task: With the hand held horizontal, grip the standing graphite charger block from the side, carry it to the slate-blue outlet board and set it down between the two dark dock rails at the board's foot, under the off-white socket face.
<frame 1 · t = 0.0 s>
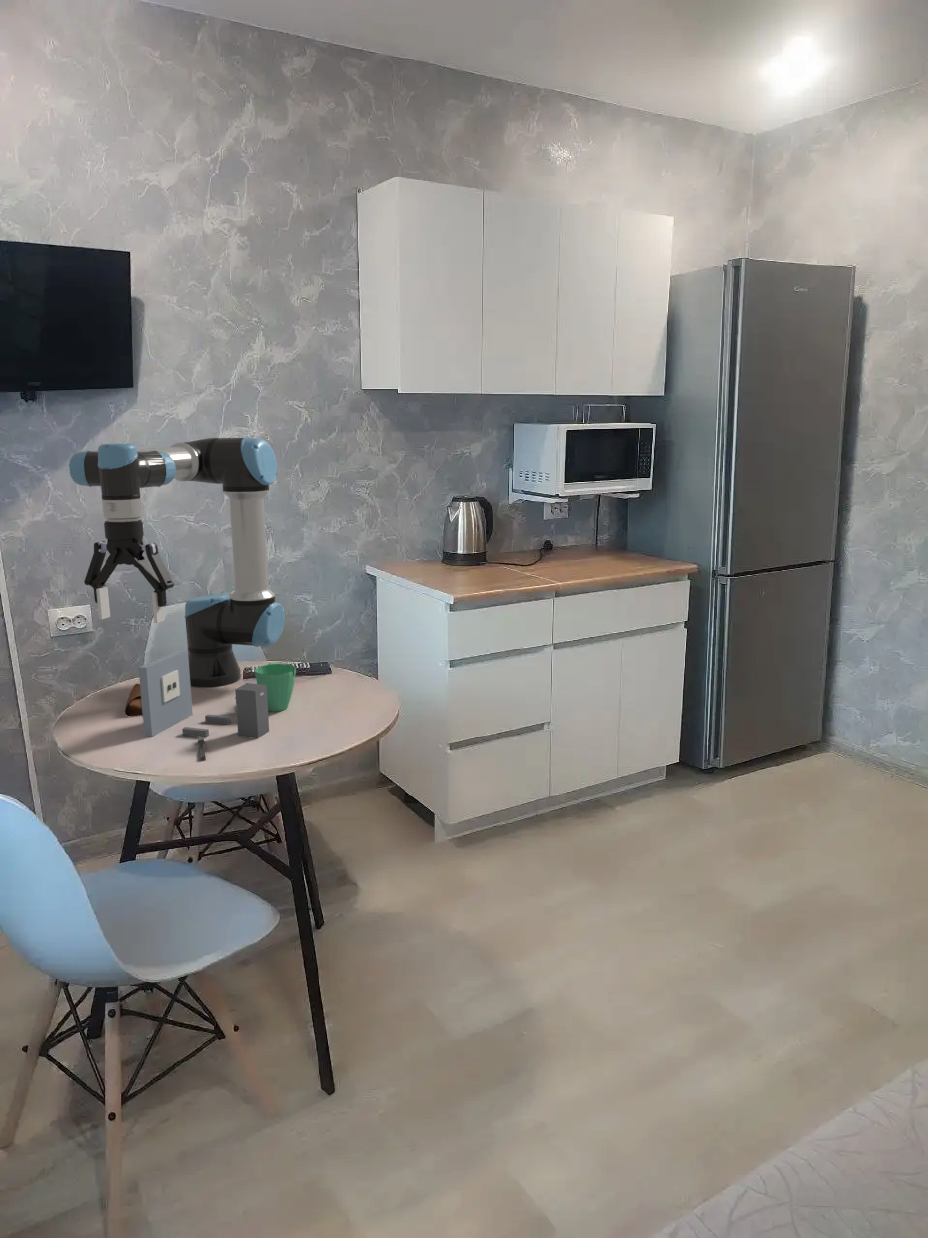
hand: (132, 620, 192), 28 cm above the table, tool pointing down, fingers open, 13 cm apart
sunglasses case: (146, 707, 226), on the table
outlet board: (207, 728, 208), on the table
charger: (253, 733, 205), on the table
dark grey rod: (202, 751, 194), on the table
mug: (276, 706, 225), on the table
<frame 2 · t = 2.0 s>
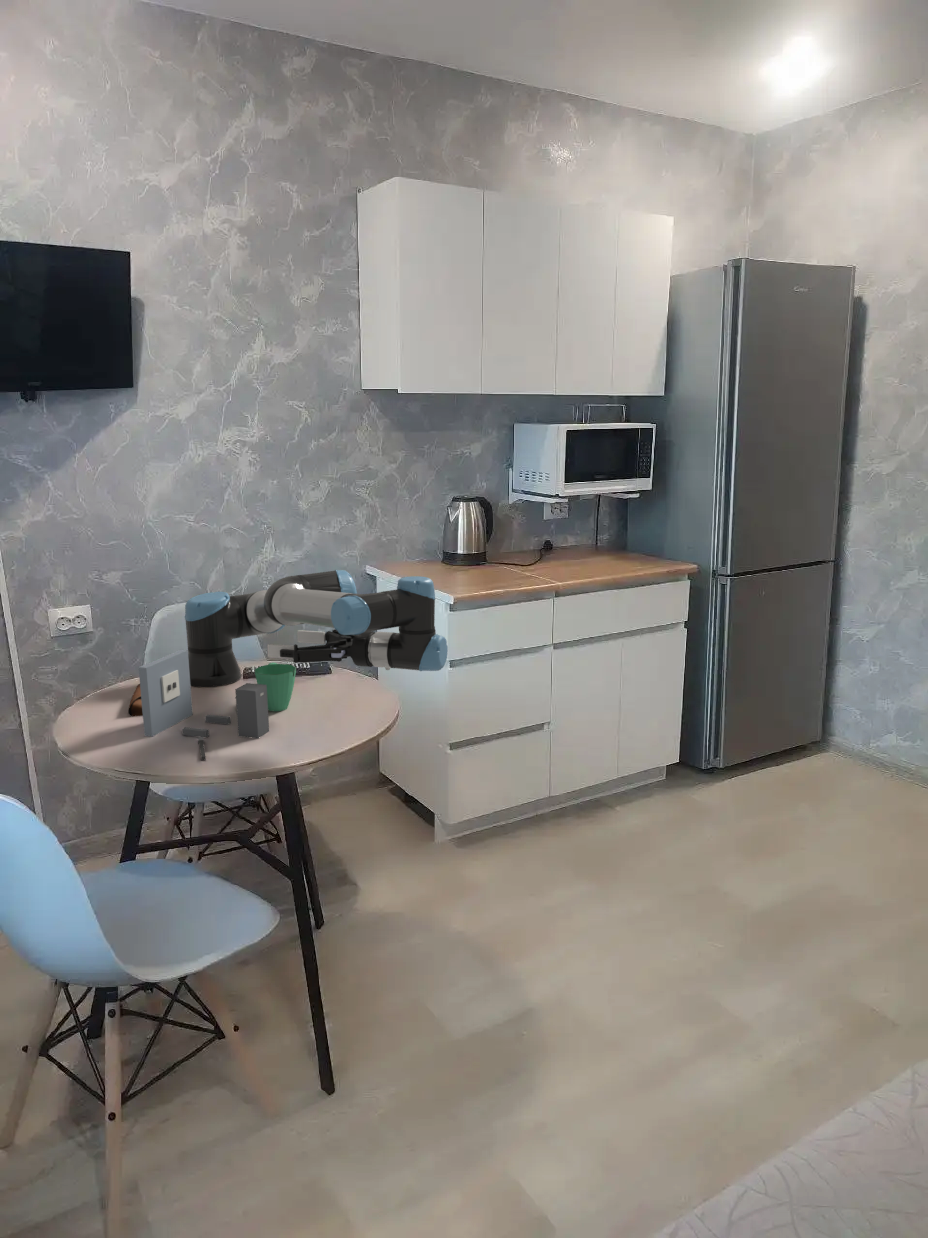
hand: (283, 643, 197), 22 cm above the table, tool horizontal, fingers open, 13 cm apart
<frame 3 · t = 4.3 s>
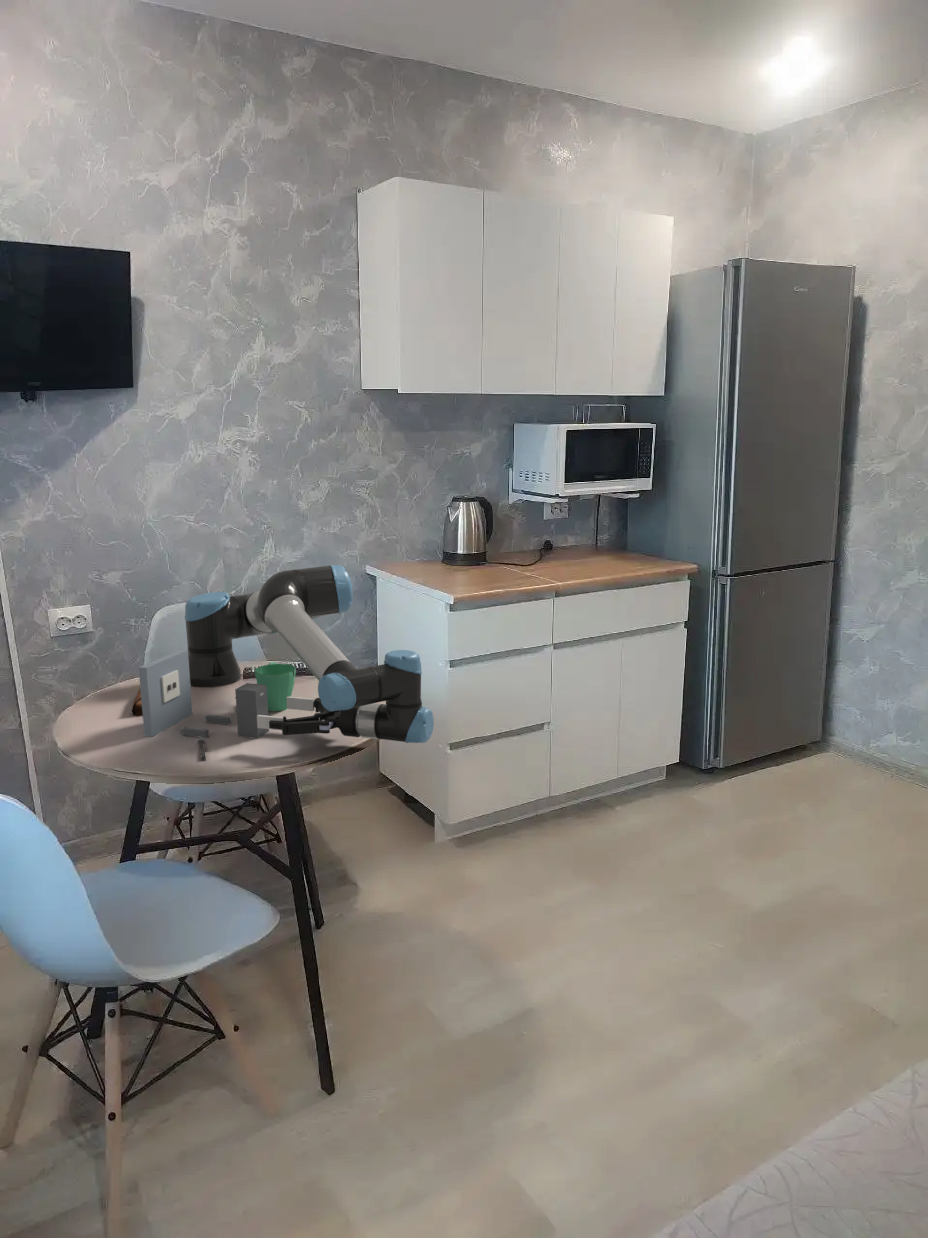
hand: (273, 711, 201), 6 cm above the table, tool horizontal, fingers open, 13 cm apart
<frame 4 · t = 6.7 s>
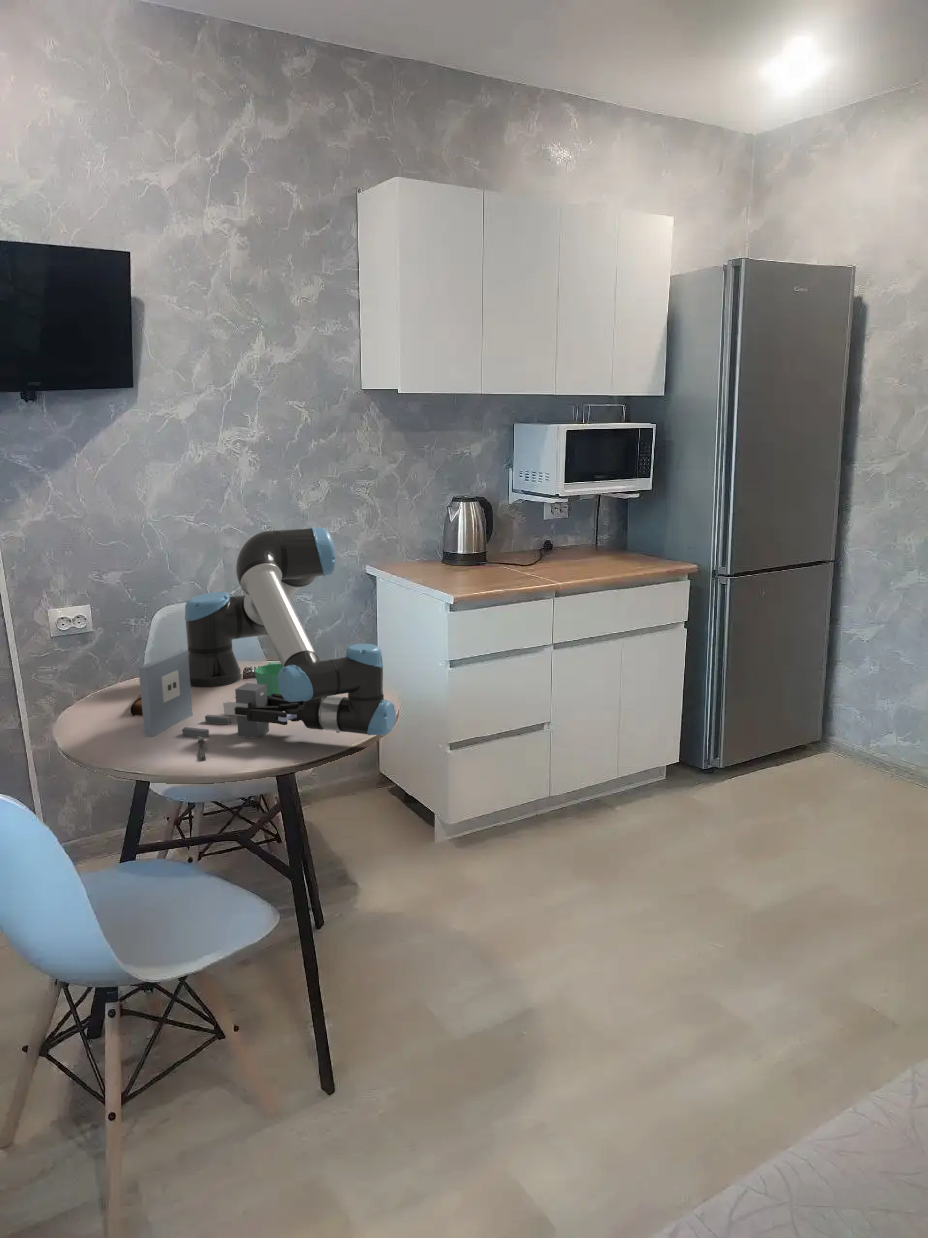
hand: (231, 704, 205), 7 cm above the table, tool horizontal, fingers closed on charger, 5 cm apart
charger: (253, 733, 205), on the table, touching gripper
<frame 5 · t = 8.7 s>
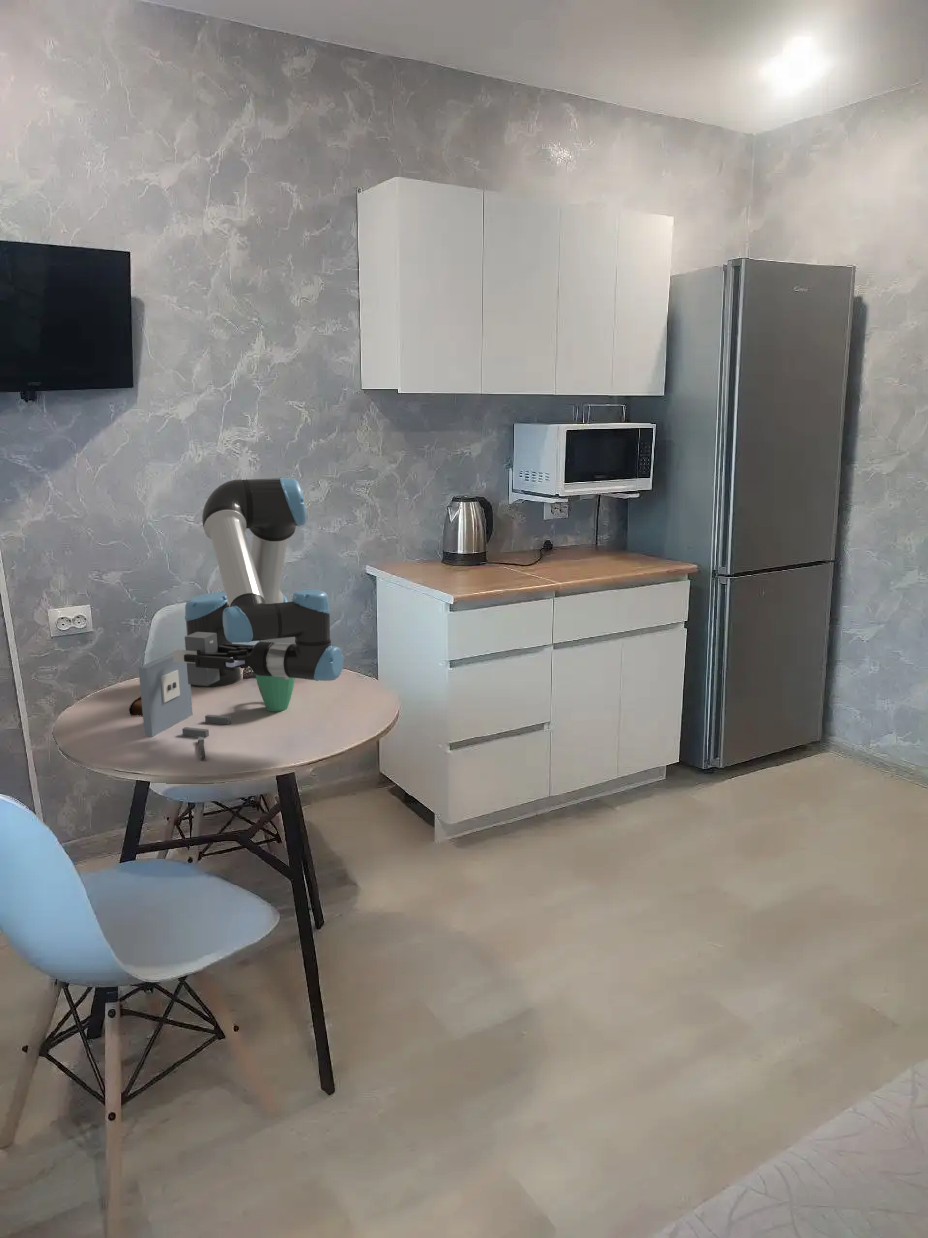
hand: (181, 652, 206), 18 cm above the table, tool horizontal, fingers closed on charger, 5 cm apart
charger: (204, 682, 206), point 11 cm above the table, touching gripper
when the fingers open (8 cm above the table, at t = 10.7 s): charger drops 1 cm, on the table.
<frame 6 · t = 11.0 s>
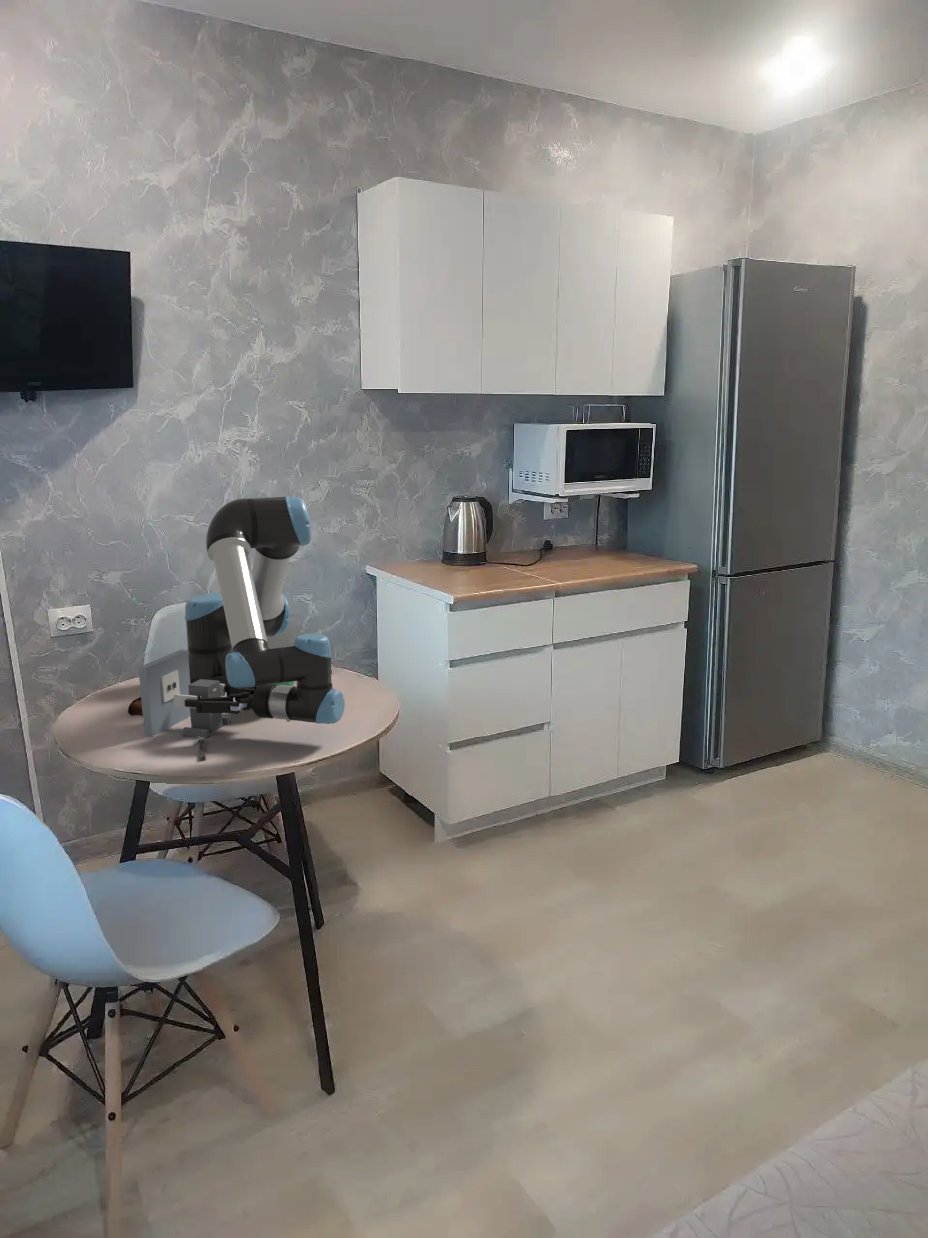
hand: (187, 693, 208), 8 cm above the table, tool horizontal, fingers open, 9 cm apart
charger: (207, 729, 208), on the table
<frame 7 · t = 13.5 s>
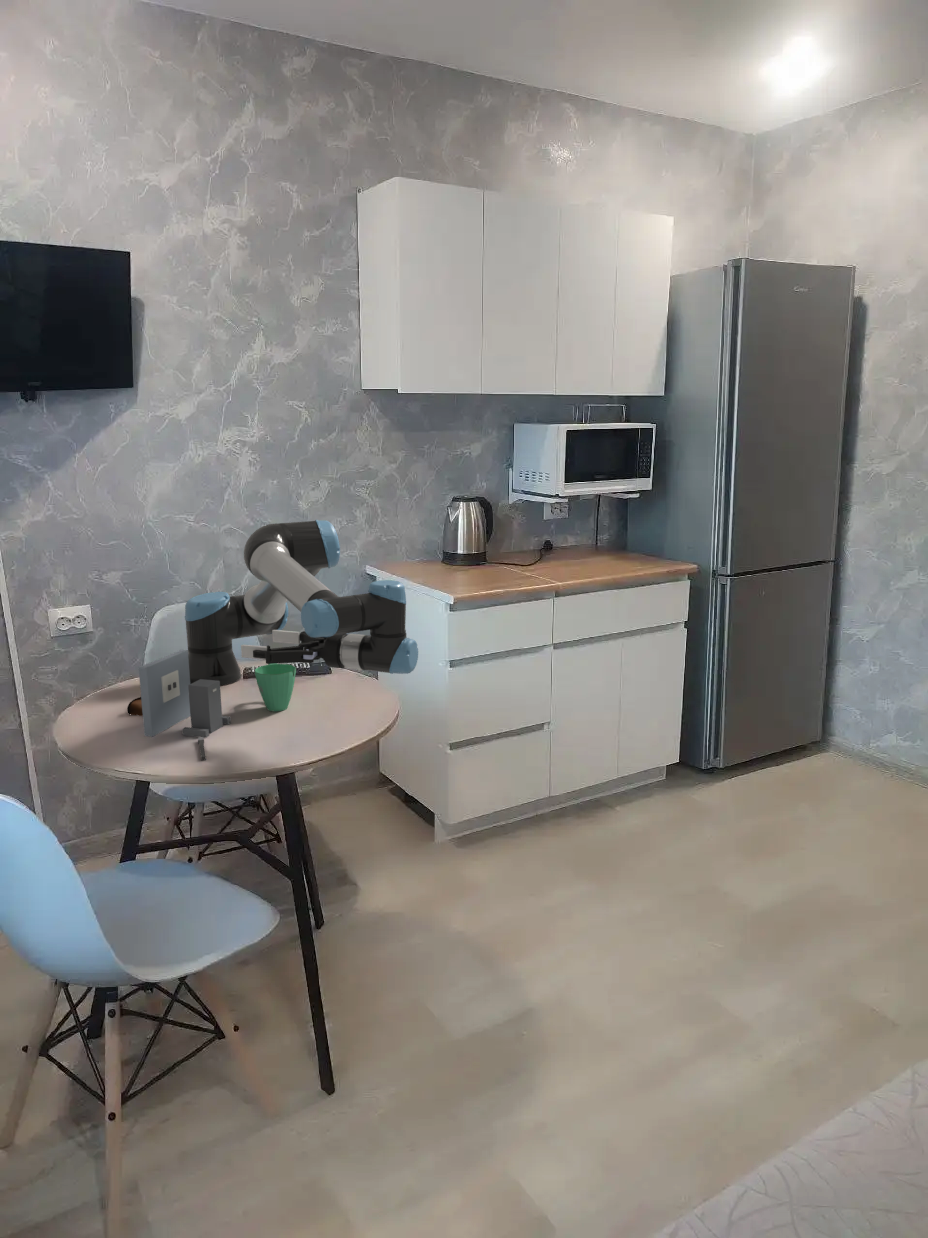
hand: (258, 643, 200), 21 cm above the table, tool horizontal, fingers open, 13 cm apart
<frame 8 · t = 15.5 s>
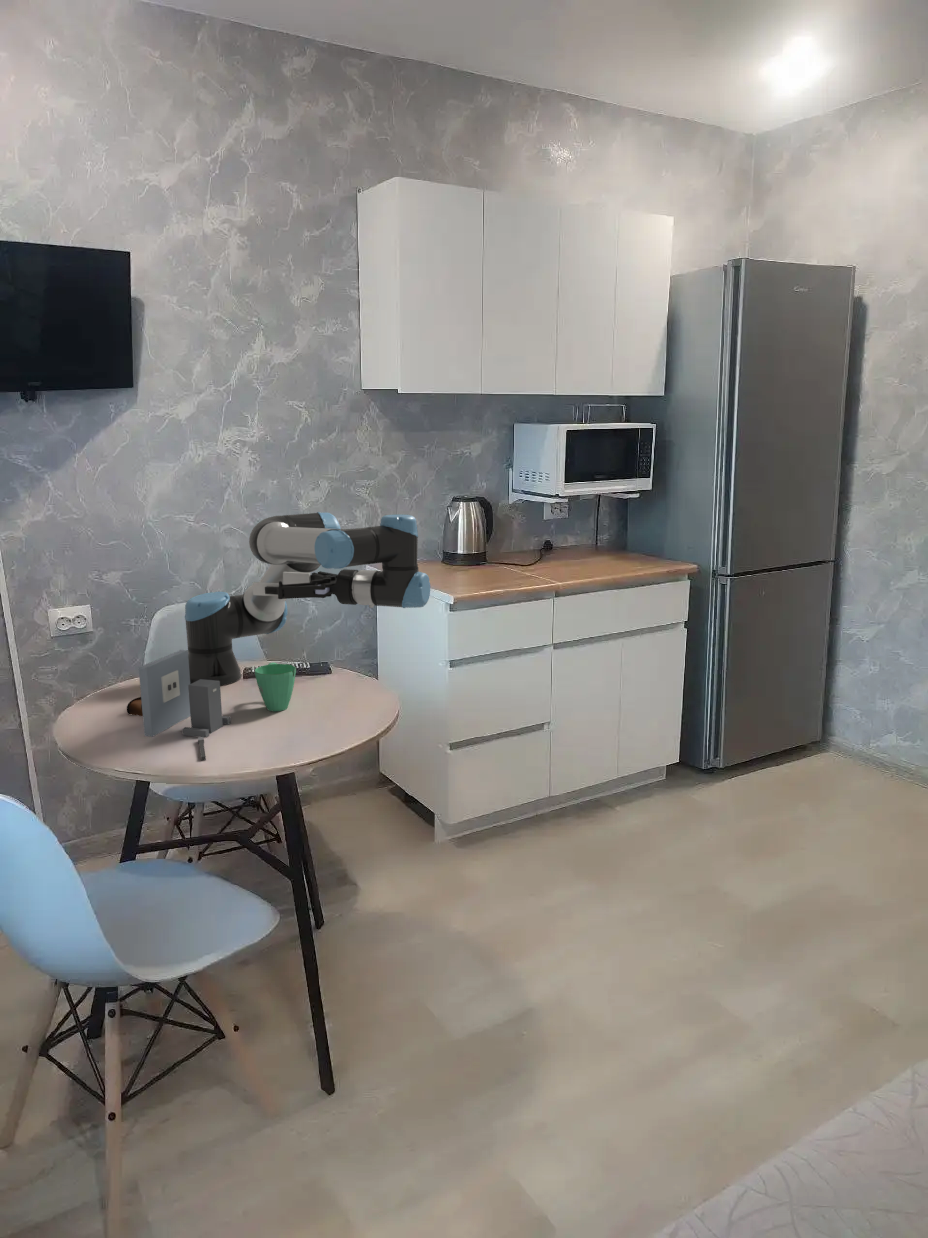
hand: (269, 583, 200), 34 cm above the table, tool horizontal, fingers open, 13 cm apart
at the end: charger 0.0 cm off-centre on the outlet board, point 0.0 cm above the outlet board's base; charger tilted 0°; the gripper is holding nothing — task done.
